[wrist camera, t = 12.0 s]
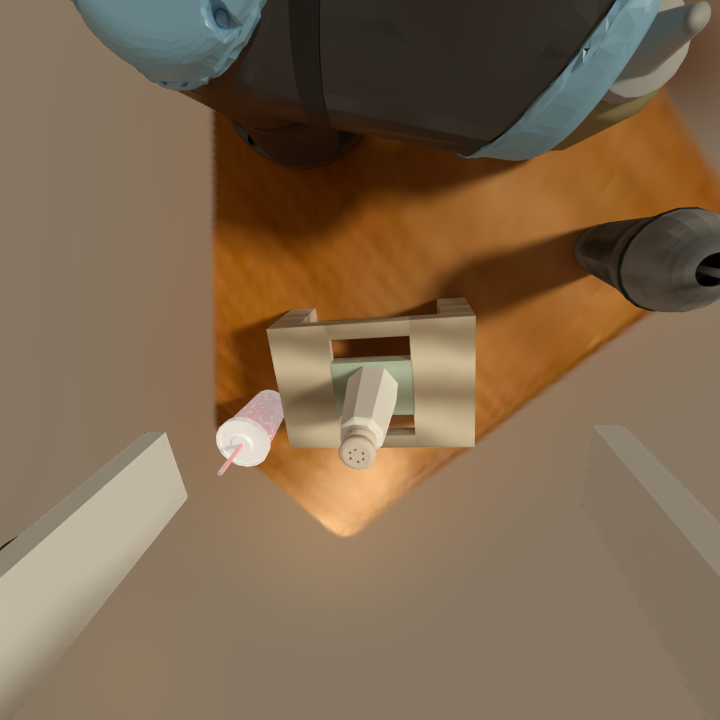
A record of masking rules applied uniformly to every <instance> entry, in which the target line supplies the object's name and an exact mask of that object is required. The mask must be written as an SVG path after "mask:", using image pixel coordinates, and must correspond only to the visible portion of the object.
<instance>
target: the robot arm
mask: <svg viewBox="0 0 720 720" xmlns="http://www.w3.org/2000/svg"><path fill="white" fill-rule="evenodd" d="M71 1H72V2H73V3H74V4H75V7H76V9H77V11H78V12H79V13H80V14H81V15H82V17H83V20H84V21H85V23H86V25H87V26H88V27H89V29H90V30H91V31H92V32H93V33H94V34H95V36H97V38H99V39H100V41H101V42H102V43H104V45H105V46H107V47H108V48H109V49H110V50H111V51H112V52H114V53H115V54H116V55H118V56H119V57H120V58H122V59H123V60H125V61H126V62H128V63H130V64H131V65H133V66H134V67H136V69H137V70H138V71H139V72H141V73H142V74H144V75H145V77H146V78H147V79H149V80H150V81H151V82H154V83H158V84H159V85H160V86H162V87H164V88H167V89H171V90H177V91H179V92H181V93H183V94H185V95H187V96H188V97H191V98H192V99H194V100H196V101H198V102H200V103H202V104H204V105H206V106H208V107H210V108H212V109H214V110H216V111H218V112H220V113H222V114H224V115H226V116H228V118H229V120H230V122H231V123H232V125H233V127H234V128H235V130H236V131H237V132H238V134H239V135H240V136H241V137H242V138H243V140H244V141H245V142H246V143H247V144H248V145H249V146H250V147H252V148H253V149H254V150H255V151H256V152H258V153H259V154H261V155H262V156H264V157H265V158H267V159H269V160H271V161H273V162H276V163H278V164H281V165H284V166H287V167H291V168H297V169H312V168H318V167H322V166H325V165H328V164H330V163H332V162H334V161H336V160H338V159H340V158H341V157H342V156H344V155H345V154H346V153H348V152H349V151H350V150H351V149H352V148H353V147H354V146H355V145H356V144H357V142H358V141H359V140H360V139H361V137H362V136H363V135H366V136H371V137H376V138H382V139H387V140H392V141H398V142H403V143H408V144H413V145H419V146H424V147H429V148H434V149H440V150H445V151H450V152H455V153H457V155H459V156H460V157H463V158H467V159H470V158H479V157H489V158H497V159H504V160H512V161H521V160H526V159H531V158H534V157H536V156H540V155H542V154H544V153H546V152H547V151H549V150H551V149H552V148H553V147H555V146H556V145H558V144H559V143H560V142H561V141H563V140H564V139H565V138H566V137H567V136H568V135H569V134H571V133H572V132H573V131H574V130H575V129H576V128H577V127H578V126H579V125H580V124H581V123H582V121H583V120H584V119H585V118H586V117H587V116H588V114H589V113H590V112H591V111H592V110H593V109H594V108H595V106H596V105H597V104H598V103H599V101H600V100H601V99H602V97H603V96H604V95H605V94H606V92H607V91H608V90H609V88H610V87H611V86H612V84H613V83H614V82H615V80H616V79H617V77H618V76H619V75H620V73H621V72H622V70H623V69H624V67H625V66H626V64H627V63H628V61H629V60H630V58H631V57H632V55H633V54H634V52H635V51H636V49H637V47H638V46H639V44H640V43H641V41H642V39H643V38H644V36H645V34H646V33H647V31H648V29H649V28H650V26H651V24H652V22H653V21H654V19H655V17H656V15H657V13H658V11H659V9H660V5H659V1H658V0H71ZM187 498H188V496H187V493H186V490H185V488H184V485H183V482H182V479H181V476H180V473H179V470H178V468H177V464H176V462H175V459H174V456H173V453H172V450H171V447H170V444H169V441H168V438H167V435H166V433H165V432H154V433H153V432H149V433H144V434H143V435H141V436H140V437H139V438H138V439H137V440H135V441H134V442H133V443H132V444H131V445H129V446H128V447H127V448H126V449H124V450H123V451H122V452H121V453H119V454H118V455H117V456H116V457H115V458H113V459H112V460H111V461H110V462H109V463H107V464H106V465H105V466H104V467H102V468H101V469H100V470H99V471H97V472H96V473H95V474H94V475H93V476H91V477H90V478H89V479H88V480H86V481H85V482H84V483H83V484H82V485H80V486H79V487H78V488H77V489H76V490H74V491H73V492H72V493H71V494H69V495H68V496H67V497H66V498H64V499H63V500H62V501H61V502H60V503H58V504H57V505H56V506H55V507H53V508H52V509H51V510H50V511H49V512H47V513H46V514H45V515H44V516H42V517H41V518H40V519H39V520H37V521H36V522H35V523H34V524H33V525H31V526H30V527H29V528H28V529H27V530H25V531H24V532H23V533H22V534H20V535H19V536H17V537H16V538H14V539H12V540H11V541H9V542H7V543H6V544H4V545H3V546H2V547H1V548H0V720H12V718H13V717H14V716H15V715H16V713H17V712H18V710H19V709H20V708H21V707H22V706H23V704H24V703H25V702H26V701H27V699H28V698H29V697H30V696H31V694H32V693H33V692H34V691H35V689H36V688H37V687H38V686H39V684H40V683H41V682H42V681H43V679H44V678H45V677H46V675H47V674H48V673H49V672H50V670H51V669H52V668H53V667H54V665H55V664H56V663H57V662H58V660H59V659H60V658H61V657H62V655H63V654H64V653H65V652H66V650H67V649H68V648H69V647H70V645H71V644H72V643H73V641H74V640H75V639H76V638H77V636H78V635H79V634H80V632H81V631H82V630H83V629H84V628H85V626H86V625H87V624H88V623H89V621H90V620H91V619H92V618H93V616H94V615H95V614H96V612H97V611H98V610H99V609H100V607H101V606H102V605H103V604H104V602H105V601H106V600H107V598H108V597H109V596H110V595H111V594H112V592H113V591H114V590H115V589H116V587H117V586H118V585H119V583H120V582H121V581H122V580H123V579H124V577H125V576H126V575H127V573H128V572H129V571H130V570H131V568H132V567H133V566H134V564H135V563H136V562H137V561H138V560H139V558H140V557H141V556H142V554H143V553H144V552H145V551H146V550H147V548H148V547H149V546H150V545H151V543H152V542H153V541H154V539H155V538H156V537H157V536H158V534H159V533H160V532H161V531H162V529H163V528H164V527H165V526H166V524H167V523H168V522H169V521H170V519H171V518H172V517H173V516H174V514H175V513H176V512H177V511H178V509H179V508H180V507H181V505H182V504H183V503H184V502H185V500H186V499H187ZM581 505H582V506H583V508H584V510H585V511H586V513H587V515H588V517H589V519H590V520H591V522H592V524H593V526H594V527H595V529H596V531H597V533H598V534H599V536H600V538H601V540H602V541H603V543H604V545H605V546H606V548H607V550H608V552H609V554H610V555H611V557H612V559H613V560H614V562H615V564H616V566H617V567H618V569H619V571H620V573H621V574H622V576H623V578H624V580H625V581H626V583H627V585H628V587H629V588H630V590H631V592H632V594H633V595H634V597H635V599H636V600H637V602H638V604H639V606H640V608H641V609H642V611H643V613H644V615H645V616H646V618H647V620H648V621H649V623H650V625H651V627H652V628H653V630H654V632H655V634H656V635H657V637H658V639H659V641H660V642H661V644H662V646H663V648H664V649H665V651H666V653H667V655H668V656H669V658H670V660H671V662H672V663H673V665H674V667H675V669H676V670H677V672H678V674H679V675H680V677H681V679H682V681H683V682H684V684H685V686H686V687H687V689H688V691H689V693H690V694H691V696H692V698H693V700H694V702H695V703H696V705H697V707H698V709H699V710H700V712H701V714H702V716H703V717H704V719H705V720H720V523H719V522H718V521H717V520H716V519H715V518H714V517H713V516H712V515H711V514H710V513H709V512H708V511H707V510H706V509H705V508H704V507H703V506H702V505H701V504H700V503H699V501H698V500H697V499H696V498H695V497H694V496H693V495H692V494H691V493H690V492H689V491H688V490H687V489H686V488H685V487H684V486H683V485H682V484H681V483H680V482H679V481H678V480H677V479H676V478H675V477H674V476H673V475H672V474H671V473H670V472H669V471H668V470H667V469H666V468H665V467H664V466H663V465H662V464H661V463H660V462H659V461H658V460H657V459H656V458H655V457H654V456H653V455H652V454H651V453H650V452H649V451H648V450H647V449H646V448H645V447H644V446H643V445H642V444H641V443H640V442H639V441H638V440H637V439H636V438H635V437H634V436H633V435H632V434H631V433H630V431H629V430H628V429H626V428H625V426H624V425H609V426H593V427H592V434H591V441H590V448H589V454H588V461H587V468H586V475H585V482H584V489H583V496H582V502H581Z"/></svg>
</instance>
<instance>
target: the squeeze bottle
mask: <svg viewBox="0 0 720 720" xmlns="http://www.w3.org/2000/svg"><path fill="white" fill-rule="evenodd" d="M658 1H659V5H660V9H659V11H658V13H657V15H656V17H655V19H654V21H653V22H652V24H651V26H650V28H649V29H648V31H647V33H646V34H645V36H644V38H643V39H642V41H641V43H640V44H639V46H638V47H637V49H636V51H635V52H634V54H633V55H632V57H631V58H630V60H629V61H628V63H627V64H626V66H625V67H624V69H623V70H622V72H621V73H620V75H619V76H618V77H617V79H616V80H615V82H614V83H613V84H612V86H611V87H610V88H609V90H608V91H607V92H606V94H605V95H604V96H603V97H602V99H601V100H600V101H599V103H598V104H597V105H596V106H595V108H594V109H593V110H592V111H591V112H590V113H589V114H588V116H587V117H586V118H585V119H584V120H583V121H582V123H581V124H580V125H579V126H578V127H577V128H576V129H575V130H574V131H573V132H572V133H571V134H569V135H568V136H567V137H566V138H565V139H564V140H563V141H561V142H560V143H559V144H558V145H556V146H555V147H553V148H552V149H551V150H549V151H554V150H564V149H566V148H568V147H570V146H572V145H574V144H576V143H578V142H580V141H583V140H585V139H587V138H589V137H591V136H593V135H595V134H597V133H599V132H601V131H603V130H605V129H607V128H609V127H611V126H613V125H615V124H617V123H619V122H621V121H623V120H625V119H627V118H629V117H631V116H633V115H635V114H637V113H638V112H639V111H640V110H641V109H642V108H643V107H644V106H646V105H647V104H648V103H649V102H650V101H651V100H652V99H653V98H654V97H655V96H656V95H657V94H658V92H659V90H660V89H661V87H662V86H663V85H664V84H665V83H666V82H667V81H668V80H669V79H670V78H671V77H672V76H673V75H674V74H675V73H676V71H677V70H678V68H679V66H680V65H681V63H682V61H683V60H684V58H685V56H686V55H687V51H688V47H689V44H690V40H691V39H692V38H693V37H694V36H695V35H696V34H698V33H699V32H700V31H701V30H702V29H703V28H704V27H705V26H706V24H707V23H708V21H709V19H710V15H711V7H710V5H709V4H708V3H707V2H705V1H697V2H694V3H690V4H686V5H685V3H684V2H683V0H658Z"/></svg>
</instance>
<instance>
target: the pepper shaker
mask: <svg viewBox="0 0 720 720" xmlns="http://www.w3.org/2000/svg"><path fill="white" fill-rule="evenodd" d="M397 389H398V383H397V382H396V381H395V380H394V378H393V377H392V376H391V375H390V374H389V373H388V372H387V371H386V370H385V369H384V368H375V367H364V366H363V367H362V368H361V369H359V370H358V371H357V372H356V373H354V374H353V375H352V376H351V377H349V378H348V382H347V388H346V395H345V401H344V407H343V413H342V419H341V434H340V441H341V442H342V443H341V445H340V448H339V456H340V459H341V460H342V462H343V463H344V464H345V465H347V466H348V467H350V468H353V469H358V470H359V469H365V468H368V467H370V466H371V465H372V464H373V463H374V461H375V459H376V450H377V449H378V448H379V447H381V446H382V445H383V442H384V439H385V436H386V433H387V430H388V427H389V423H390V420H391V417H392V414H393V411H394V408H395V404H396V400H397Z"/></svg>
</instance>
